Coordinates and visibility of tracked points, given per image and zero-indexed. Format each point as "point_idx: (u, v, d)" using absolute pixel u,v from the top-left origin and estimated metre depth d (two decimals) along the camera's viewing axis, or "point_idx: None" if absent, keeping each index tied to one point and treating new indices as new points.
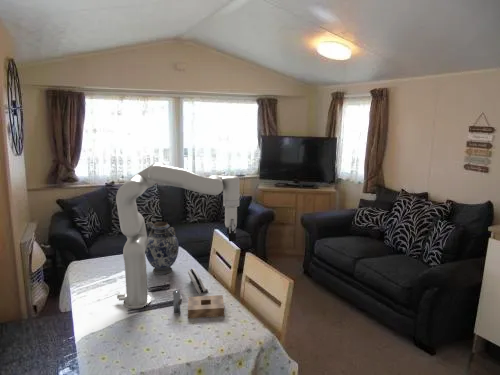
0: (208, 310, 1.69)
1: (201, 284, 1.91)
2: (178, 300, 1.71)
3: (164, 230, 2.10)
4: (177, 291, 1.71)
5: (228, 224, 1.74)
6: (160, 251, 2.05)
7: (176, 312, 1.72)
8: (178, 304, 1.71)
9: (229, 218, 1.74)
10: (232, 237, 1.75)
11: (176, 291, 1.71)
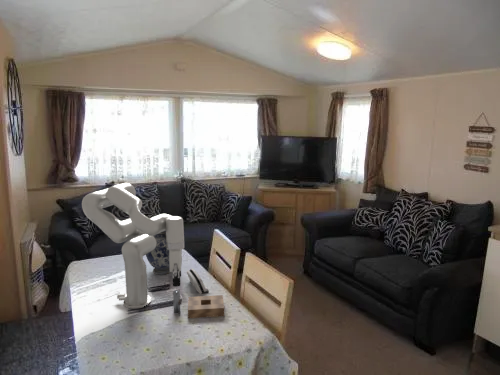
0: (208, 310, 1.69)
1: (202, 284, 1.91)
2: (178, 300, 1.71)
3: None
4: (177, 291, 1.71)
5: (171, 269, 1.63)
6: (160, 251, 2.05)
7: (176, 312, 1.72)
8: (178, 304, 1.71)
9: (172, 262, 1.63)
10: (176, 282, 1.64)
11: (176, 291, 1.71)
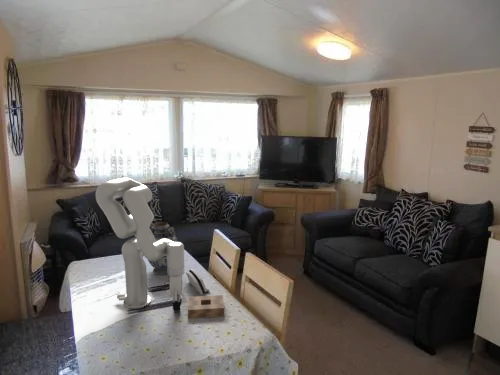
0: (208, 310, 1.69)
1: (203, 284, 1.90)
2: None
3: (164, 230, 2.10)
4: None
5: (171, 294, 1.66)
6: None
7: (176, 312, 1.72)
8: None
9: (172, 288, 1.65)
10: (176, 306, 1.70)
11: None
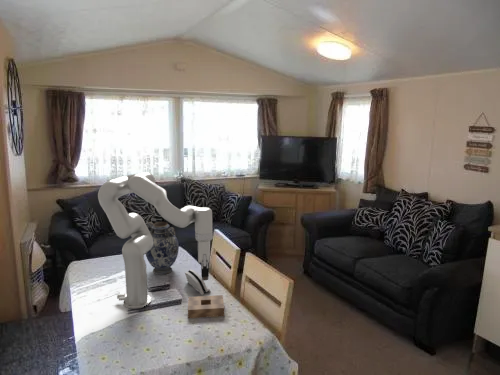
0: (208, 310, 1.69)
1: (204, 285, 1.90)
2: None
3: (164, 230, 2.10)
4: None
5: (200, 259, 1.64)
6: (160, 251, 2.05)
7: (204, 279, 1.70)
8: None
9: (201, 253, 1.64)
10: (205, 273, 1.68)
11: None
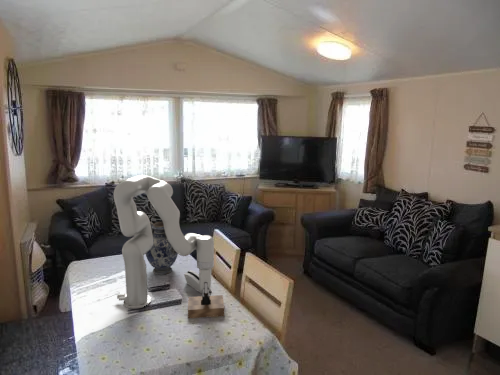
0: (208, 310, 1.69)
1: None
2: None
3: (164, 230, 2.10)
4: None
5: (201, 287, 1.67)
6: (160, 251, 2.05)
7: None
8: None
9: (202, 281, 1.67)
10: (206, 301, 1.69)
11: None
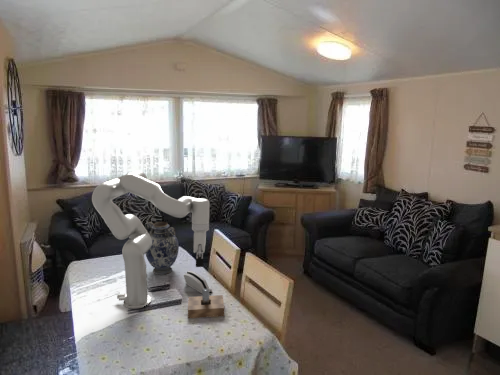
0: (208, 310, 1.69)
1: (206, 285, 1.90)
2: (207, 298, 1.73)
3: (164, 230, 2.10)
4: (206, 290, 1.73)
5: (195, 249, 1.67)
6: (160, 251, 2.05)
7: None
8: (207, 302, 1.73)
9: (196, 243, 1.66)
10: (199, 263, 1.67)
11: (205, 290, 1.73)
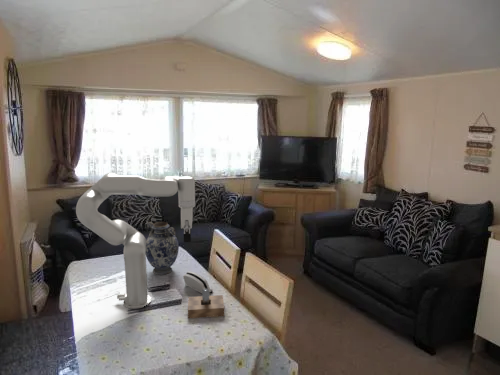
0: (208, 310, 1.69)
1: (207, 285, 1.90)
2: (207, 298, 1.73)
3: (164, 230, 2.10)
4: (206, 290, 1.73)
5: (183, 225, 1.74)
6: (160, 251, 2.05)
7: None
8: (207, 302, 1.73)
9: (183, 219, 1.73)
10: (187, 238, 1.75)
11: (205, 290, 1.73)
